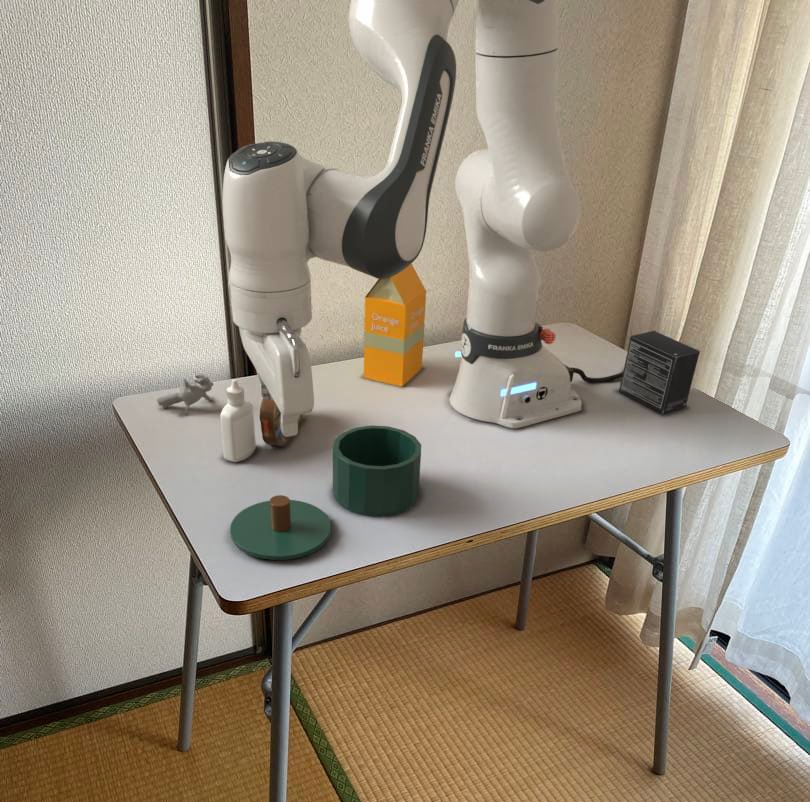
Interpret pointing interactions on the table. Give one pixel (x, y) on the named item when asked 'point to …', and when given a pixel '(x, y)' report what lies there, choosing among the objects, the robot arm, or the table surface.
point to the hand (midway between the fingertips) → (278, 415)
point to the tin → (272, 424)
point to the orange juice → (394, 328)
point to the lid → (280, 529)
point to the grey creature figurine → (188, 392)
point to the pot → (376, 470)
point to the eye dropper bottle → (237, 425)
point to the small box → (658, 371)
